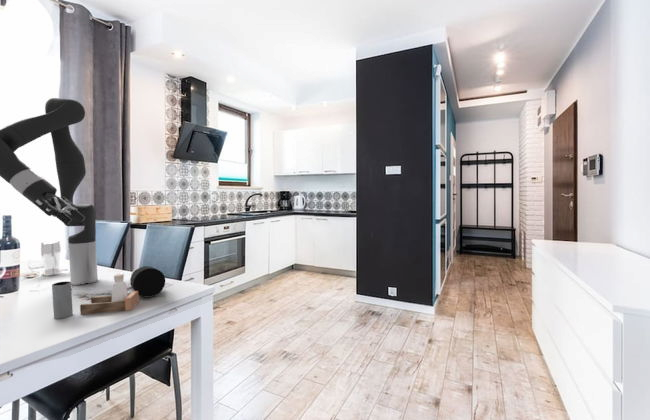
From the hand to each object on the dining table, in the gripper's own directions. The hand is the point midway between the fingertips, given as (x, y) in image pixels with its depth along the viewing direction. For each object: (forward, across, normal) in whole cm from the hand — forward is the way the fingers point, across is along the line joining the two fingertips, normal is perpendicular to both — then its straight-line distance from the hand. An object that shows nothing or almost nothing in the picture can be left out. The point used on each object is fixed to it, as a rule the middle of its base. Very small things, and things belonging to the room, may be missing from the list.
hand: (76, 221), depth 106 cm
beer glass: (-4, +52, +45) cm, 69 cm away
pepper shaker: (+30, -5, +11) cm, 32 cm away
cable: (+31, +17, +10) cm, 36 cm away
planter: (+20, -9, +21) cm, 30 cm away
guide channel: (+28, -5, +13) cm, 31 cm away
